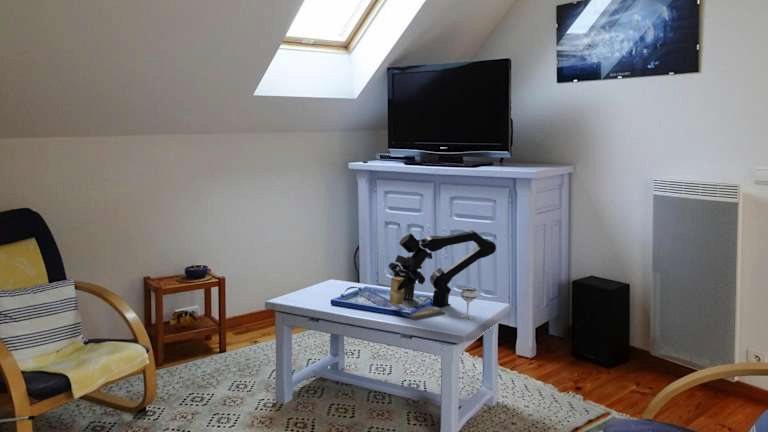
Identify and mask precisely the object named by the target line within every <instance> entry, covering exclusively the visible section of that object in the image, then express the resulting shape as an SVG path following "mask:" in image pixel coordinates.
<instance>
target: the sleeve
mask: <svg viewBox="0 0 768 432" xmlns="http://www.w3.org/2000/svg"><path fill="white" fill-rule="evenodd" d="M403 280H404V278H402V277H399V276H398V277H394V276H392V277H391V279H390V290H389V291H390V295H389V303H390V304H392V305H394V306H400V305H403V304H404V299H403V298H404V288H403V289H401V290H398V287H399V285H400V284H401V282H402V281H403Z"/></svg>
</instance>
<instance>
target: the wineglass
mask: <svg viewBox="0 0 768 432" xmlns="http://www.w3.org/2000/svg"><path fill="white" fill-rule="evenodd" d="M460 289H461V291H460V297H461V299H462V300H463V301H465V302H466V314H465V315H461V316H460V317H461V319H463V320H472V319H471V318H473V319H474V317H473V316H471V315H469V306H470V303H471V302H473V301H475V300H476V299H477V297H478V288H475V287H470V286H464V287H463V286H462V287H461V288H460Z"/></svg>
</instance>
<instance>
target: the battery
mask: <svg viewBox="0 0 768 432" xmlns="http://www.w3.org/2000/svg"><path fill="white" fill-rule="evenodd" d="M402 277H403V278H405V274H402ZM415 288H416V284H412V285H410V286H407V287H405V288H404V298H403V300H409V301H411V300H414V297H415Z"/></svg>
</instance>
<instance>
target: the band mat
mask: <svg viewBox="0 0 768 432" xmlns="http://www.w3.org/2000/svg"><path fill="white" fill-rule="evenodd" d="M425 306H426V305H425ZM401 315H403V316H404V317H406V318H409V319H410V320H414V321H416V320H422V319H426V318H430V317H436V316H440V315H446V312H445V311H444V309H442V308H439V309H438V308H435V307H433V306H431V305H428V306H426V307H424V308H422V309H421V310H419V311H417V312H416V313H414V314H412V315H408V314H404V313H402V314H401Z"/></svg>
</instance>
